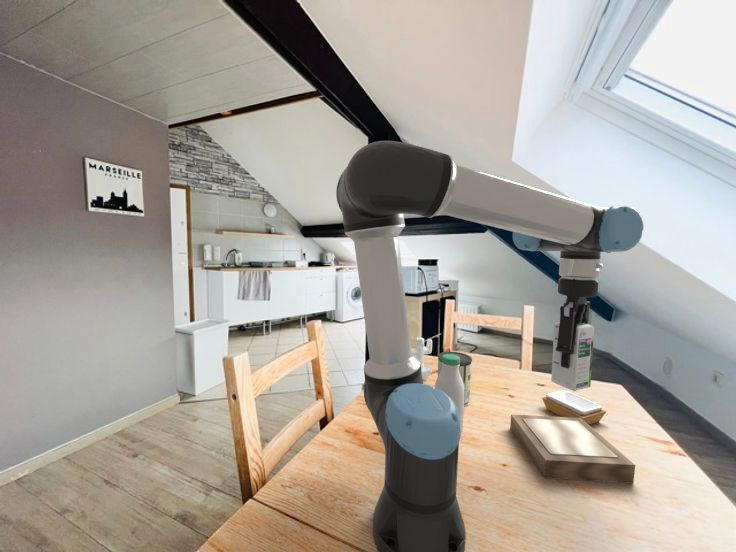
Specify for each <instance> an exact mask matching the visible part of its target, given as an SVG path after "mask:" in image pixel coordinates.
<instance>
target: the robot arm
mask: <svg viewBox="0 0 736 552" xmlns="http://www.w3.org/2000/svg"><path fill="white" fill-rule="evenodd" d="M335 190H336V191H335V195H336V202H337V205H338V208H339V210H340V211H341V213H342V214H341V215H342V222H343V228H344V235H345V236H347V237H348V238H350V239H351V240H352V241H353V245H354V251H355V259H356V265H357V271H358V272H357V274H358V281H359V282H358V283H359V287H360V294H361V295H360V296H361V303H362V309H363V310H362V311H363V319H364V325H365V326H364V327H365V332H366V343H367V347H368V354H369V356H368V357H369V359H368V360H367V361H366V362H365V364H364V366H363V374H364V381H363V397H364V402H365V406H366V407H367V409H368V411H369V412H370V415H371V417H372V419H373V421H374V424H375V425H376V428H377V431H378V433H379V436H380V438H381V441H382V444H383V446H384V454H385V455H384V457H385V459H384V462H385V463H384V485H383V487H382V489H381V492H380V495H379V498H378V500H377V502H376V505H375V508H374V511H373V518H372V537H373V542H374V544H375V546H376V549H377V551H378V552H465V551H466V539H467V538H466V535H467V534H466V527H465V522H464V519H463V516H462V512H461V509H460V505H459V502H458V498H457V483H458V467H459V466H458V465H459V451H460V450H459V449H460V440H461V435H460V423H459V412H458V409H457V406H456V404H455V403H454V401H453V400H452V399H451V398H450V397H449V396H448V395H447V394H446V393H444V392H443V391H441V390H439V389H435V388H434V387H433V386H431V385H429V384H425V383H424V382H423V381H424V380H422V371H421V363H420V360H419V359H418V358H417V357H416V355H413V354H412V351H411V348H412V344H411V336H410V328H409V327H410V326H409V325H410V324H409V317H408V309H407V300H406V293H405V292H406V290H405V283H404V275H403V267H402V259H401V258H402V257H401V250H400V248H401V247H400V241H399V236H400V235H401V232H402V231H403V230H404V228H405V227H406V223H405V214H406V215H415V216H416V215H417V216H421V217H425V218H430V219H431V218H433V217H435V216H436V215H438V214H441V215H445V216H449V217H453V218H457V219H461V220H464V221H469V222H473V223H477V224H481V225H485V226H490V227H494V228H497V229H502V230H504V231H505V230H506V231H509V232H512V242H513V244H514V245H515V247H517V249H520V250H522V251H530V252H560V256H559V269H558V275H559V277H560V276H561V277H560V278H558V286H557V293H558V294H559V295H561V296H566V300H565V302H563V306H562V305H561V306H560V307H559V314H560V315H559V316H560V318H559V323H560V324H559V334H558V343H557V348H556V351H559V352H560V359H559V372H558V379H559V380H563V381H566V382H569V383H572V382H573V372H574V360H575V354H574V346H575V338H576V327H578V325H579V324H581V323H586V324H590V323H589V322H590V321H589V318H590V307H591V301H587V298H595V297H597V296H598V292H599V291H598V290H599V284H600V283H599V281H598V279H597V278H599V277H600V269H603V267H604V265H603V263H601V254H602V253H606V254H609V253H614V252H626V251H630V250H632V249H634V248H635V246H637V244H639V242H640V241H641V239H642V237H643V231H644V226H645V225H644V221H643V220H644V219H643V216H642V215H641V213H640V212H639V211H638V210H637V209H636V208H634V207H633V206H628V205H622V206H619V205H618V206H617V205H612V206H609V207H600V206H597V205H592V204H590V203H587V202H586V203H585V202H582V201H579V200H575V199H572V198H569V197H566V196H562V195H559V194H555V193H552V192H549V191H545V190H542V189H539V188H534V187H531V186H528V185H525V184H521V183H517V182H515V181H513V180H512V181H511V180H508V179H504V178H501V177H497V176H495V175H491V174H488V173H485V172H480V171H478V170H475V169H471V168H468V167H464V166H461V165H458V164H455V162H454V159H453V158H452V156H451V155H449V154H446V153H443V152H440V151H438V150H433V149H430V148H427V147H424V146H419V145H415V144H411V143H407V142H400V141H394V140H379V141H374V142H371V143H367V144H366V145H365V146H362V147H361V148H359V149H358V150H357V151H356V152H355V153H354V154H353V155H352V156H351V158H350V160H349V162H348V164H347V165H346V168H345V169H344V170H343V171H342V173H341V174H340V176H339V178H338V180H337V184H336V189H335ZM565 346H566V347H565Z"/></svg>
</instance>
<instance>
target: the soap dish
mask: <svg viewBox="0 0 736 552" xmlns="http://www.w3.org/2000/svg"><path fill="white" fill-rule="evenodd" d="M541 398H542V401H543V404H544V405H545V408H546V409H547V410H548V411H550V412H551V413H553V414H556V415H557V416H558V417H571V418H581V419H583V420H584V421H585V422H586V423H587V424H588V425H592V424H596V423H598V422H601V420H602V418H603V417H604V416H605V415H606V413H607V411H606V410H604V409H602V408H603V406H602V405H600V404H598V403H596V402H594V401H592V400H590V399H587V398H586V397H583V396H581V395H578V394H576V393H573V392H571V391H568V390H565V389H563V390H558V391H552V392H549V393H546V395H545V396H544V397H541Z"/></svg>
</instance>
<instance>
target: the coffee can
mask: <svg viewBox="0 0 736 552" xmlns="http://www.w3.org/2000/svg"><path fill="white" fill-rule="evenodd" d="M444 354H453V355H457V356H459V357H460V366H459V373H460V376H461V378H462V381H463V384H464V408H466V407H468V406H469V405H470V403H471V380H472V379H471V377H472V376H471V375H472V362H473V358H472V357H471V356H470V355H468V354H466V353H463V352H458V351H443V352H440V353H438V355H437V377H438V376H439V374H440V372H441V369H442V355H444Z"/></svg>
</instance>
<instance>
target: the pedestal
mask: <svg viewBox="0 0 736 552" xmlns="http://www.w3.org/2000/svg"><path fill="white" fill-rule="evenodd" d="M509 424H510V425H509V427H510V431H511V432H512V434H513V435H514V437H515V438H516V439H517V441H518V442H519V444H520V445H521V447H522V448H523V449H524V451H525V453H527V455H528V457H529V458H530V460H531V461H532V462H533V464H534V465H535V467H536V468H537V469H538V471H539V473H540V474H541V476H542V477H543V478H544V479H555V480H556V479H558V480H573V481H588V482H589V481H590V482H591V481H592V482H603V483H604V482H605V483H607V482H608V483H624V484H634V482H635V473H636V471H635V469H636V464H634V462H633V461H632V460H631V459H629V458H628V457H627V456H625V455H624V454H623V453H622V452H621V451H619V450H618V449H617V448H616V447H615V446H614V445H613V444H612V443H610V441H608V440H607V439H606V438H605V437H604V436H603V435H601V434H600V433H599V432H598V431H596V430H595V429H594V428H593V427H592V426H591V424H589V425H588V424H587V423H586V422H585V421H584V420H583V419H581V418H571V417H561V416H547V415H529V414H528V415H525V414H510V423H509Z"/></svg>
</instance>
